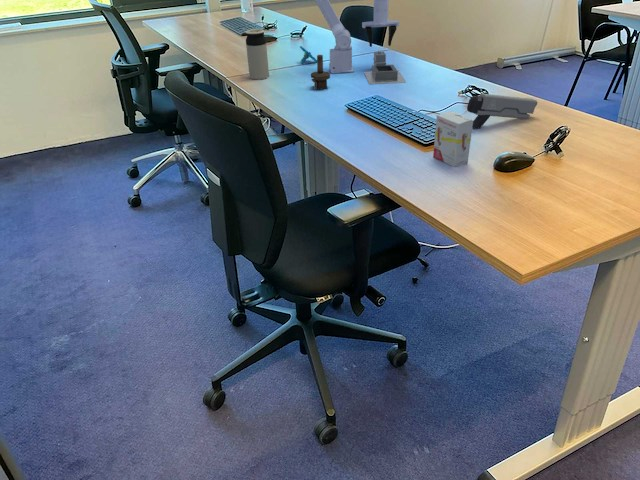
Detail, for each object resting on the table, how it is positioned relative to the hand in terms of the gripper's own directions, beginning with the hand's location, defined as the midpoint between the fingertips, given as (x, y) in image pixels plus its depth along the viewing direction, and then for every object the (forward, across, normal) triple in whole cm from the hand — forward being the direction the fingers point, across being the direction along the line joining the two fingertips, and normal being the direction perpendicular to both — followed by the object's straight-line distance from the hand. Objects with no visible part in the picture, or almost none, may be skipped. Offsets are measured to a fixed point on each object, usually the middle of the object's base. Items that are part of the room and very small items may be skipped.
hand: (380, 45), depth 210 cm
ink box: (+10, +5, -94) cm, 95 cm away
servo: (+9, 0, 0) cm, 9 cm away
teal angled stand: (+10, -29, +17) cm, 35 cm away
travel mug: (+10, -50, -3) cm, 51 cm away
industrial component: (+10, -25, -22) cm, 35 cm away
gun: (+10, +27, -69) cm, 75 cm away
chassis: (+9, 0, -13) cm, 16 cm away
